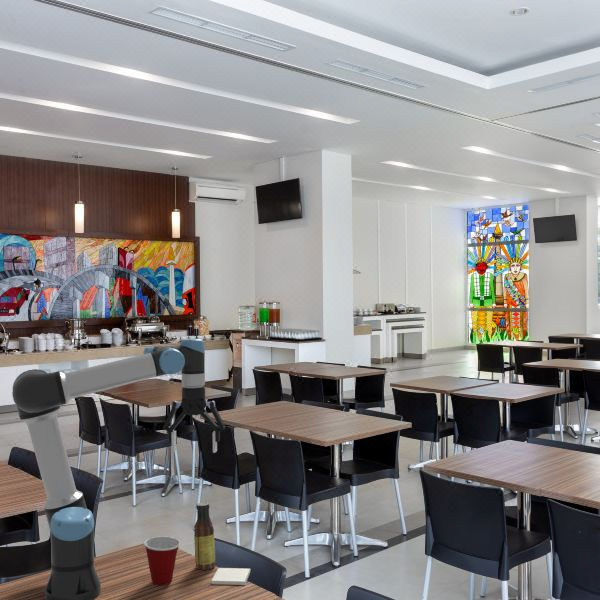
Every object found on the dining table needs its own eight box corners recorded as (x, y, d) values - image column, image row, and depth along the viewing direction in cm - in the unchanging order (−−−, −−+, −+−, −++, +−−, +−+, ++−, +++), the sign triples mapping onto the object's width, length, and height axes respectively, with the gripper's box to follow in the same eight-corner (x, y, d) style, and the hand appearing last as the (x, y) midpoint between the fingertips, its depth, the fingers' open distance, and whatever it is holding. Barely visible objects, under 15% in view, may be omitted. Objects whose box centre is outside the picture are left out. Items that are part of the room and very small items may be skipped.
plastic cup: (172, 590, 201) (172, 548, 201) (138, 587, 203) (137, 546, 203) (186, 575, 211) (186, 536, 212) (153, 573, 214) (152, 534, 214)
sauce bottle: (219, 565, 219) (218, 502, 219) (206, 572, 214) (205, 507, 214) (203, 562, 223) (202, 500, 223) (190, 568, 217) (189, 504, 217)
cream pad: (211, 584, 205) (211, 580, 205) (218, 571, 215) (218, 567, 215) (244, 584, 204) (244, 581, 204) (250, 571, 214) (250, 568, 214)
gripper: (233, 384, 228) (234, 449, 228) (159, 385, 231) (160, 449, 230) (228, 387, 220) (229, 454, 220) (152, 387, 223) (153, 453, 223)
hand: (194, 451), depth 225 cm, fingers open, 13 cm apart
